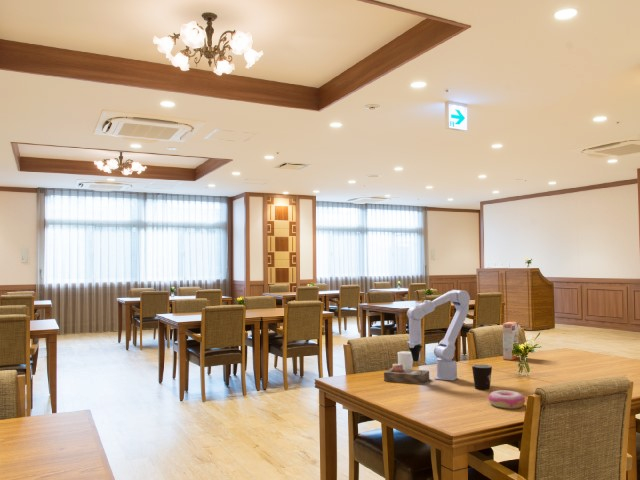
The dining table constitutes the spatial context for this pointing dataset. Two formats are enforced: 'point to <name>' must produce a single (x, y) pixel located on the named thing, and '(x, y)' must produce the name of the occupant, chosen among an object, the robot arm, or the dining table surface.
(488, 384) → the coffee mug
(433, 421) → the dining table surface
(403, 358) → the white cup
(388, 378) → the housing
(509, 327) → the cracker box
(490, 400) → the donut
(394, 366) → the plunger
